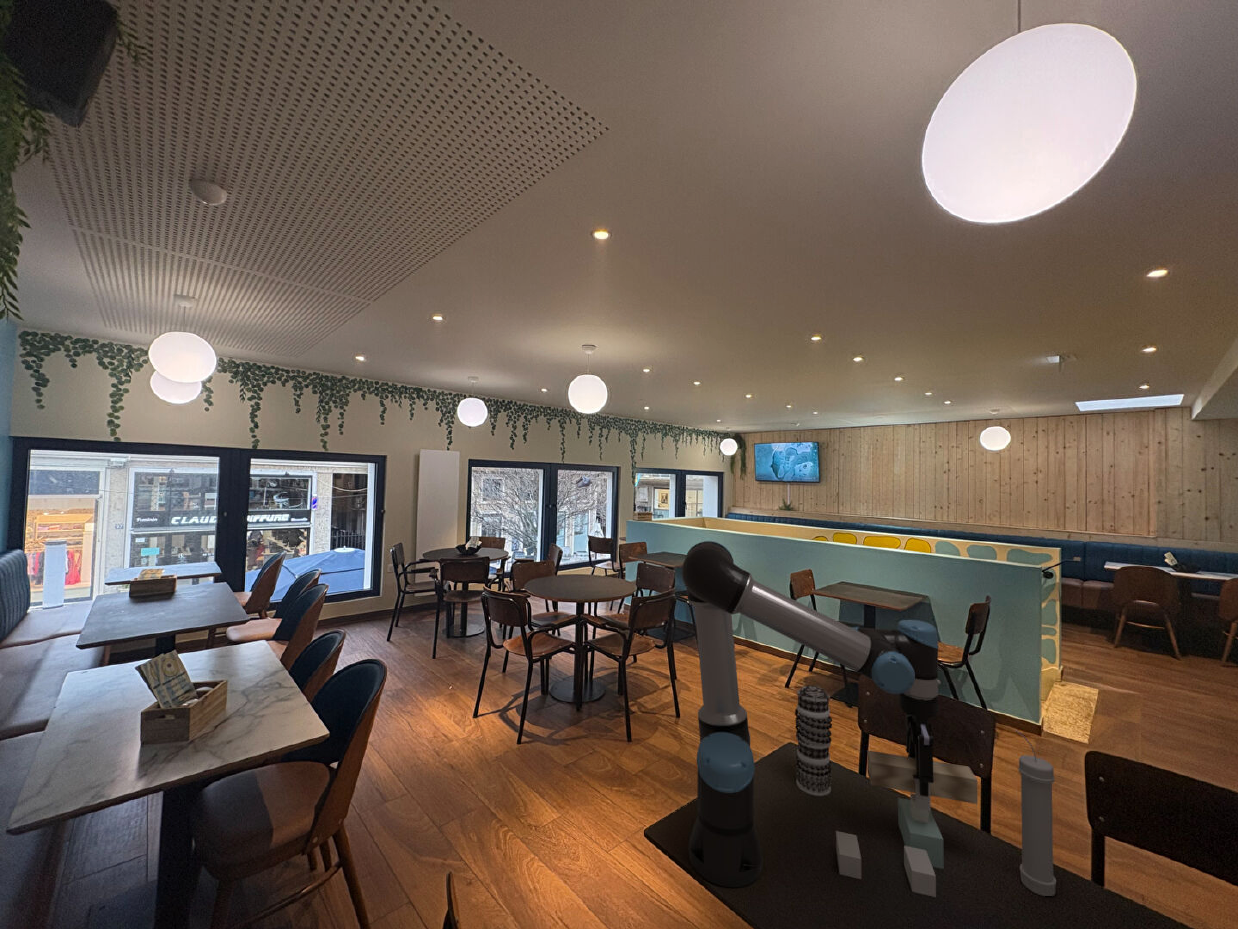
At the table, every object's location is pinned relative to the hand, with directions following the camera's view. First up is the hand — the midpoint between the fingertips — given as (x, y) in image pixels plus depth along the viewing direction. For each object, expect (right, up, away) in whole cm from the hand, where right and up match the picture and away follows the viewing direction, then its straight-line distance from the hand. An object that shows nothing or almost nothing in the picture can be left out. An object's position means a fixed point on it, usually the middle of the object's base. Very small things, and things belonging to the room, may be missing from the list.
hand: (919, 800), depth 109 cm
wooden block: (0, +3, 0) cm, 3 cm away
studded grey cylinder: (-15, -10, +21) cm, 28 cm away
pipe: (+16, -10, -11) cm, 22 cm away
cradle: (-12, -9, -8) cm, 17 cm away
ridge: (0, -10, 0) cm, 10 cm away
